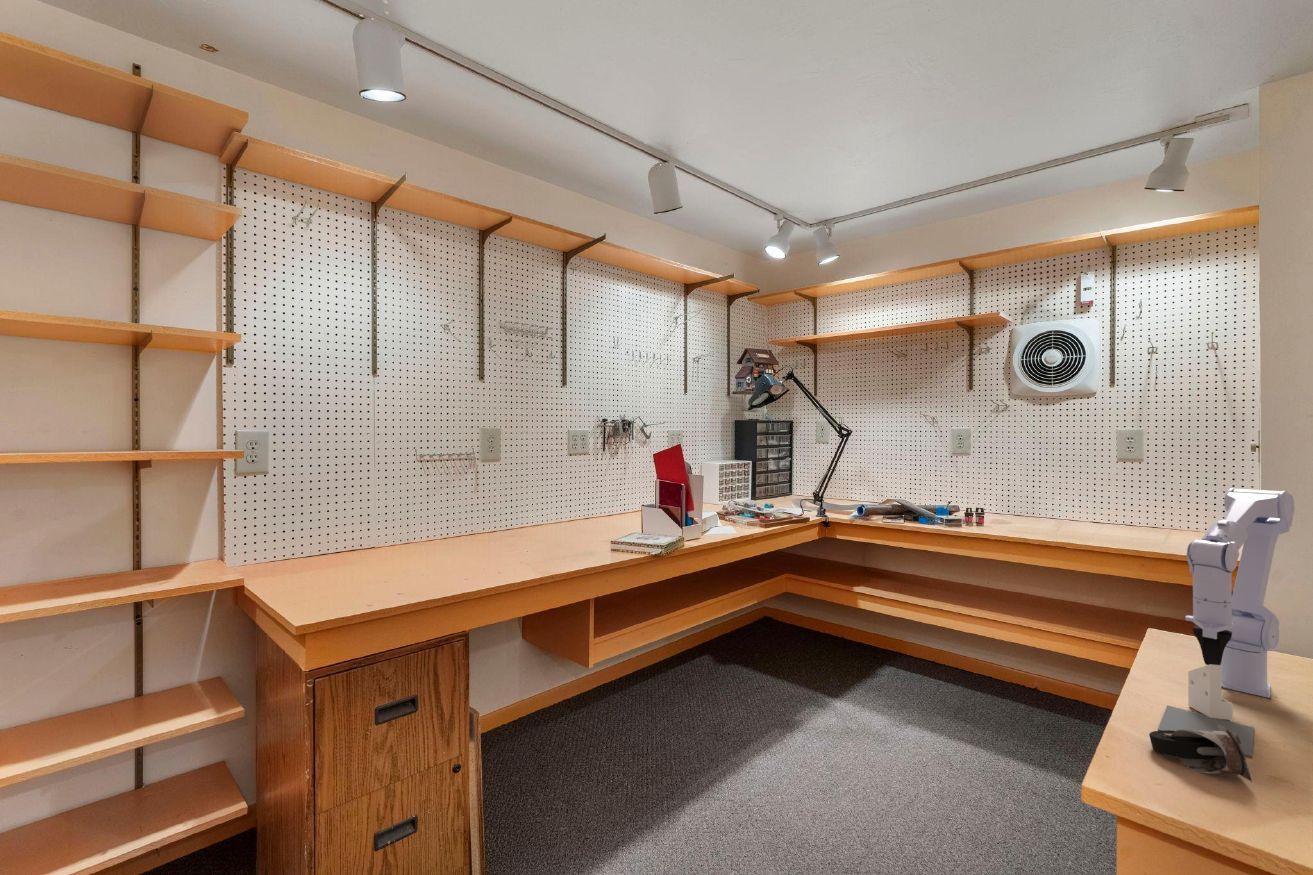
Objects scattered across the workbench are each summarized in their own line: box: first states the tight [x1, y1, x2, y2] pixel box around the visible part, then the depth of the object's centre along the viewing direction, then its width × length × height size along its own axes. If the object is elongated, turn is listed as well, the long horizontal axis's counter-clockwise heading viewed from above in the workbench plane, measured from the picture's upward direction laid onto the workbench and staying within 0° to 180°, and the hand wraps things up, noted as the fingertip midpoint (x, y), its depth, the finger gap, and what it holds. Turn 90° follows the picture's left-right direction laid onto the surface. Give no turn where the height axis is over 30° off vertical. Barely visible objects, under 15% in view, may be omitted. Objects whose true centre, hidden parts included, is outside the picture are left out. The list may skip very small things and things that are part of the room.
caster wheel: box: [1148, 725, 1253, 783], centre depth 94 cm, size 7×11×10 cm
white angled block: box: [1187, 664, 1234, 721], centre depth 110 cm, size 4×10×9 cm
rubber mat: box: [1157, 705, 1255, 759], centre depth 104 cm, size 14×12×1 cm
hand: (1212, 665), depth 116 cm, fingers closed
